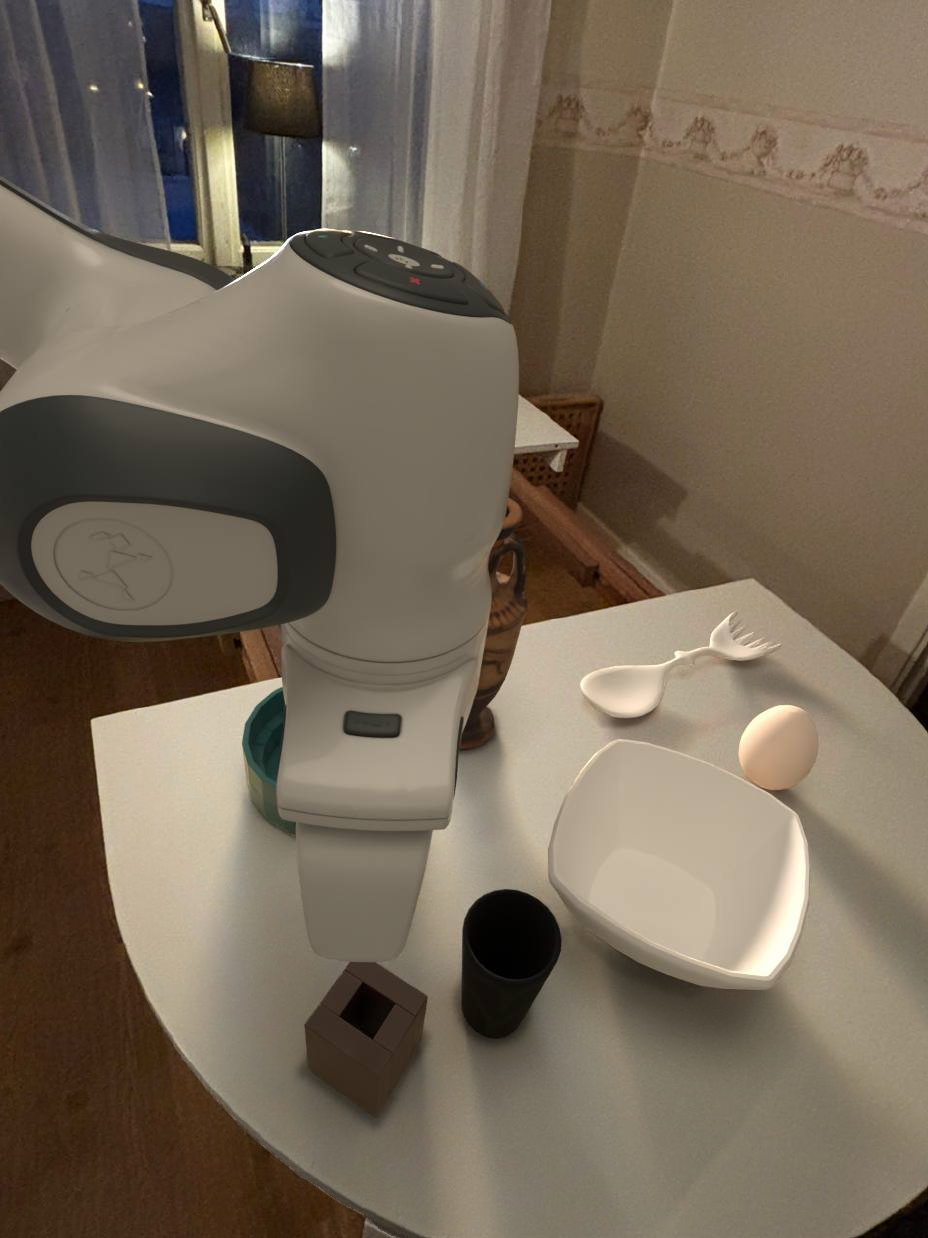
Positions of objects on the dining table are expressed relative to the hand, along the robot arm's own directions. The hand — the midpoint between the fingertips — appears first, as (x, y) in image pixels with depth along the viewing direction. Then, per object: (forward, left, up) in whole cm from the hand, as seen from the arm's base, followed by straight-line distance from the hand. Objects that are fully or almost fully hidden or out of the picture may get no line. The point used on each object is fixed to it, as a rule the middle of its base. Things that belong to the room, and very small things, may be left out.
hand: (374, 832), depth 41 cm
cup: (+9, -7, -30) cm, 32 cm away
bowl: (+25, -16, -30) cm, 42 cm away
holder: (0, 0, -30) cm, 30 cm away
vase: (+36, +12, -30) cm, 49 cm away
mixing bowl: (+21, +20, -30) cm, 42 cm away
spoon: (+61, -8, -30) cm, 68 cm away
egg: (+49, -22, -30) cm, 62 cm away
